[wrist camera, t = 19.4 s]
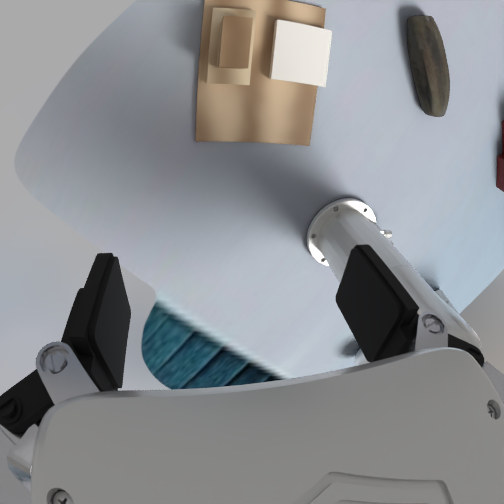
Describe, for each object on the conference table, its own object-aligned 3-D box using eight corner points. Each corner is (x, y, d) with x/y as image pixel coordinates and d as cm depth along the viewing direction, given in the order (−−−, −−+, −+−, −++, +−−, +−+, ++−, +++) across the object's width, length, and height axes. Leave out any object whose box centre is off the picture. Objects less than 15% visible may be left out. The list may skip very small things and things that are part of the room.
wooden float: (254, 12, 25) (264, 3, 21) (248, 84, 31) (256, 86, 27) (212, 9, 24) (215, -1, 20) (206, 83, 30) (208, 84, 26)
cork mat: (323, 9, 26) (325, 8, 25) (307, 144, 37) (309, 145, 37) (205, -7, 23) (205, -8, 22) (195, 140, 34) (195, 141, 34)
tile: (320, 86, 32) (327, 32, 27) (325, 87, 31) (332, 31, 26) (268, 78, 31) (274, 21, 26) (271, 78, 29) (277, 19, 25)
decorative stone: (399, 13, 26) (416, 11, 23) (427, 17, 26) (445, 17, 23) (413, 114, 36) (430, 120, 33) (439, 111, 36) (456, 117, 33)
